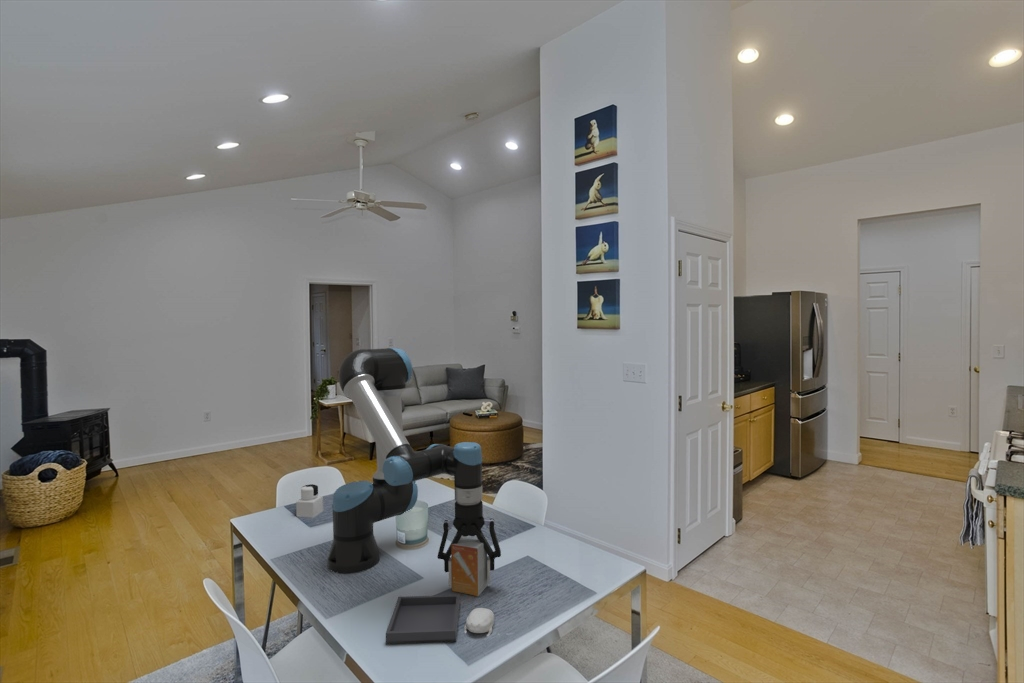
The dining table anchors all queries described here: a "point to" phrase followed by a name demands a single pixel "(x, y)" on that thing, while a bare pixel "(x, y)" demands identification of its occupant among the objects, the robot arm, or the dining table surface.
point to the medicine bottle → (309, 502)
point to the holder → (424, 620)
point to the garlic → (480, 621)
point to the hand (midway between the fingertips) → (469, 582)
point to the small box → (469, 566)
